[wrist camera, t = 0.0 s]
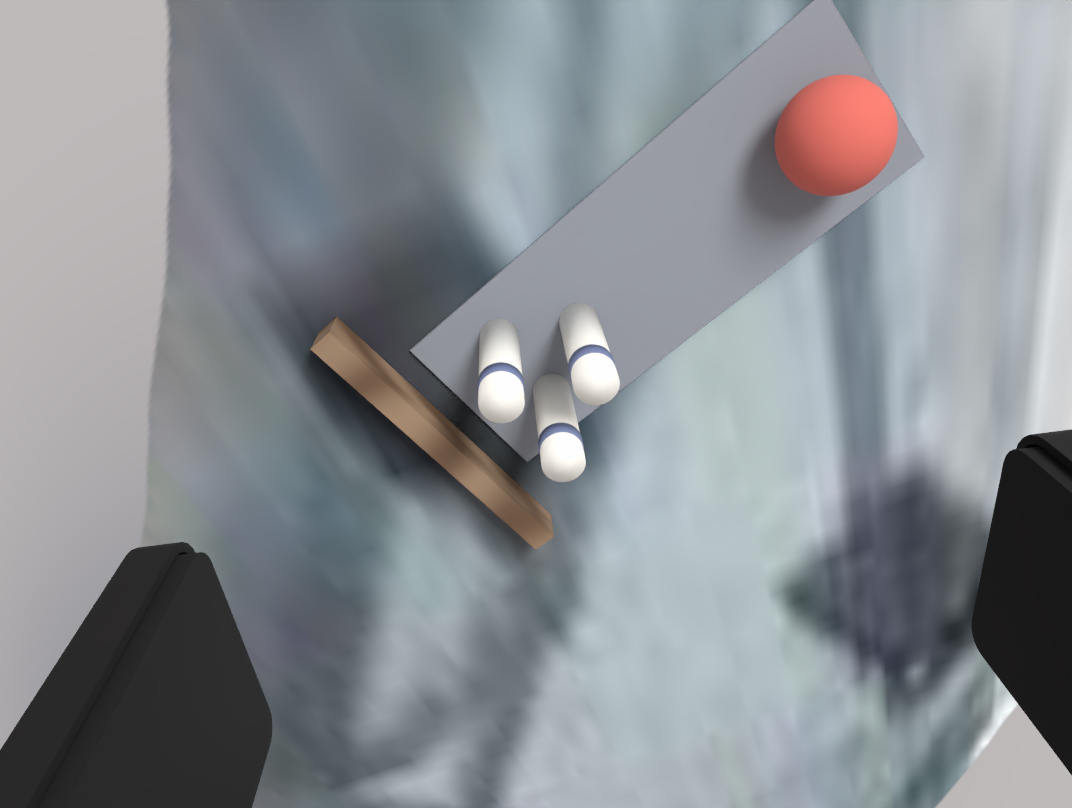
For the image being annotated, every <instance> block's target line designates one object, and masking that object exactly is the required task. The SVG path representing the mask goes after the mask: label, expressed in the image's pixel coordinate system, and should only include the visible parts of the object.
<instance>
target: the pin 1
mask: <svg viewBox="0 0 1072 808" xmlns="http://www.w3.org/2000/svg"><path fill="white" fill-rule="evenodd" d="M477 392H478V406H479V410H480V412H481V413H482V415H483V416H484V417H485V418H486V419H488V420H490V421H492V422H495V423H508V422H511V421H513V420H515V419H516V418H517V417H519V416H520V414H521V413H522V411H523V409H524V405H525V399H524V393H525V389H524V379H523V376H522V366H521V356H520V345H519V335H518V331H517V328H516V327H515V326H514V324H513V323H511V322H510V321H508V320H505V319H493V320H490V321H489V322H487V323H486V324H485V325H484V326H483V327H482V329H481V331H480V342H479V378H478V389H477Z"/></svg>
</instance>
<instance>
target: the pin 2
mask: <svg viewBox="0 0 1072 808" xmlns="http://www.w3.org/2000/svg"><path fill="white" fill-rule="evenodd" d="M533 397H534V405H535V414H536V423H537V431H538V448H539V455H540V458H541V466H542V470H543V472H544V474H545V475H546V476H547V477H548V478H550V479H551V480H554V481H557V482H568V481H571V480H574V479H576V478H577V477H578V476H580V475H581V473H582V472H583V470H584V468H585V465H586V460H585V455H584V446H583V441H582V437H581V434H580V431H579V427H578V422H577V417H576V413H575V408H574V403H573V398H572V394H571V389H570V385H569V383H568V381H567V380H566V379H565V378H564V377H563V376H561V375H559V374H553V373H551V374H546V375H543V376H541V377H540V378H539V379H538V380H537V381H536V382H535V384H534V387H533Z"/></svg>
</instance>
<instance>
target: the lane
mask: <svg viewBox="0 0 1072 808" xmlns="http://www.w3.org/2000/svg"><path fill="white" fill-rule="evenodd" d="M833 75H854V76H858V77H862V78H864V79H867V80H869V81H871V82H873V83H874V84H876V85H877V86H878V87H880V88H881V89H882V90H883V91H884V92H885V93H886V91H885V89H884V87H883V86H882V84H881V82H880V81H879V79H878V77H877V76H876V74H875V72H874V71H873V69H872V67H871V66H870V64H869V62H868V61H867V59H866V57H865V56H864V54H863V52H862V50H861V49H860V47H859V45H858V44H857V42H856V40H855V39H854V37H853V35H852V34H851V32H850V30H849V29H848V27H847V25H846V24H845V22H844V20H843V19H842V17H841V15H840V13H839V12H838V10H837V8H836V7H835V5H834V3H833V2H832V0H813V1H811V2H810V3H809V4H808V5H807V6H806V7H804V8H803V9H802V10H801V11H800V12H799V13H798V14H796V15H795V16H794V17H793V18H792V19H791V20H790V21H788V22H787V23H786V24H785V25H784V26H783V27H781V28H780V29H779V30H778V31H777V32H776V33H775V34H773V35H772V36H771V37H770V38H769V39H768V40H766V41H765V42H764V43H763V44H762V45H761V46H760V47H758V48H757V49H756V50H755V51H754V52H753V53H751V54H750V55H749V56H748V57H747V58H746V59H745V60H743V61H742V62H741V63H740V64H739V65H738V66H736V67H735V68H734V69H733V70H732V71H731V72H730V73H728V74H727V75H726V76H725V77H724V78H723V79H721V80H720V81H719V82H718V83H717V84H716V85H715V86H713V87H712V88H711V89H710V90H709V91H708V92H707V93H705V94H704V95H703V96H702V97H701V98H700V99H698V100H697V101H696V102H695V103H694V104H693V105H692V106H690V107H689V108H688V109H687V110H686V111H685V112H683V113H682V114H681V115H680V116H679V117H678V118H677V119H675V120H674V121H673V122H672V123H671V124H670V125H668V126H667V127H666V128H665V129H664V130H663V131H662V132H660V133H659V134H658V135H657V136H656V137H655V138H653V139H652V140H651V141H650V142H649V143H648V144H647V145H645V146H644V147H643V148H642V149H641V150H640V151H639V152H637V153H636V154H635V155H634V156H633V157H632V158H630V159H629V160H628V161H627V162H626V163H625V164H624V165H622V166H621V167H620V168H619V169H618V170H617V171H615V172H614V173H613V174H612V175H611V176H610V177H609V178H607V179H606V180H605V181H604V182H603V183H602V184H600V185H599V186H598V187H597V188H596V189H595V190H594V191H592V192H591V193H590V194H589V195H588V196H587V197H585V198H584V199H583V200H582V201H581V202H580V203H579V204H577V205H576V206H575V207H574V208H573V209H572V210H570V211H569V212H568V213H567V214H566V215H565V216H564V217H562V218H561V219H560V220H559V221H558V222H557V223H556V224H554V225H553V226H552V227H551V228H550V229H549V230H547V231H546V232H545V233H544V234H543V235H542V236H541V237H539V238H538V239H537V240H536V241H535V242H534V243H532V244H531V245H530V246H529V247H528V248H527V249H526V250H524V251H523V252H522V253H521V254H520V255H519V256H517V257H516V258H515V259H514V260H513V261H512V262H511V263H509V264H508V265H507V266H506V267H505V268H504V269H502V270H501V271H500V272H499V273H498V274H497V275H496V276H494V277H493V278H492V279H491V280H490V281H489V282H487V283H486V284H485V285H484V286H483V287H482V288H481V289H479V290H478V291H477V292H476V293H475V294H474V295H473V296H471V297H470V298H469V299H468V300H467V301H466V302H464V303H463V304H462V305H461V306H460V307H459V308H458V309H456V310H455V311H454V312H453V313H452V314H451V315H449V316H448V317H447V318H446V319H445V320H444V321H443V322H441V323H440V324H439V325H438V326H437V327H436V328H434V329H433V330H432V331H431V332H430V333H429V334H428V335H426V336H425V337H424V338H423V339H422V340H421V341H419V342H418V343H417V344H416V345H415V346H414V347H413V348H411V349H410V351H411V352H412V353H413V354H414V355H415V356H416V357H417V358H418V359H419V360H420V361H421V362H422V363H423V364H424V365H425V366H426V367H427V368H429V369H430V370H431V371H432V372H433V373H434V374H435V375H436V376H437V377H438V378H439V379H440V380H441V381H442V382H443V383H444V384H445V385H446V386H448V387H449V388H450V389H451V390H452V391H453V392H454V393H455V394H456V395H457V396H458V397H459V398H460V399H461V400H462V401H463V402H464V403H465V404H466V405H468V406H469V407H470V408H471V409H472V410H473V411H474V412H475V413H476V414H477V415H478V416H479V417H480V418H481V419H482V420H483V421H484V422H485V423H486V424H488V425H489V426H490V427H491V428H492V429H493V430H494V431H495V432H496V433H497V434H498V435H499V436H500V437H501V438H502V439H503V440H504V441H505V442H507V443H508V444H509V445H510V446H511V447H512V448H513V449H514V450H515V451H516V452H517V453H518V454H519V455H520V456H521V457H522V458H523V459H524V460H525V461H527V462H528V461H529V460H531V459H532V458H533V457H535V456H536V455H537V454H538V453H539V448H538V431H537V423H536V414H535V405H534V397H533V387H534V384H535V382H536V381H537V380H538V379H539V378H540V377H541V376H543V375H546V374H551V373H553V374H559V375H561V376H563V377H564V378H565V379H566V380H567V381H568V383H569V385H570V389H571V394H572V398H573V403H574V408H575V413H576V417H577V422H578V423H579V422H580V421H581V420H583V419H584V418H585V417H586V416H588V415H589V414H590V413H592V412H593V411H594V410H596V409H597V408H598V407H599V406H601V405H602V404H601V405H589V404H586V403H584V402H582V401H581V400H579V399H578V397H577V396H576V395H575V392H574V389H573V385H572V382H571V380H570V375H569V371H568V362H567V357H566V353H565V348H564V344H563V339H562V335H561V330H560V325H559V318H560V315H561V313H562V311H563V310H564V309H565V308H566V307H567V306H569V305H571V304H574V303H585V304H588V305H590V306H591V307H592V308H593V309H594V310H595V311H596V313H597V316H598V318H599V321H600V324H601V327H602V330H603V333H604V336H605V339H606V342H607V344H608V347H609V350H610V353H611V354H612V356H613V359H614V362H615V365H616V368H617V373H618V376H619V380H620V386H619V390H618V392H619V391H620V390H622V389H623V388H624V387H625V386H627V385H628V384H629V383H631V382H632V381H633V380H635V379H636V378H637V377H638V376H640V375H641V374H642V373H644V372H645V371H646V370H648V369H649V368H650V367H651V366H653V365H654V364H655V363H657V362H658V361H659V360H661V359H662V358H663V357H664V356H666V355H667V354H668V353H670V352H671V351H672V350H674V349H675V348H676V347H677V346H679V345H680V344H681V343H683V342H684V341H685V340H687V339H688V338H689V337H690V336H692V335H693V334H694V333H696V332H697V331H698V330H700V329H701V328H702V327H703V326H705V325H706V324H707V323H709V322H710V321H711V320H713V319H714V318H715V317H716V316H718V315H719V314H720V313H722V312H723V311H724V310H726V309H727V308H728V307H729V306H731V305H732V304H733V303H735V302H736V301H737V300H739V299H740V298H741V297H742V296H744V295H745V294H746V293H748V292H749V291H750V290H752V289H753V288H754V287H755V286H757V285H758V284H759V283H761V282H762V281H763V280H765V279H766V278H767V277H768V276H770V275H771V274H772V273H774V272H775V271H776V270H778V269H779V268H780V267H781V266H783V265H784V264H785V263H787V262H788V261H789V260H791V259H792V258H793V257H794V256H796V255H797V254H798V253H800V252H801V251H802V250H803V249H805V248H806V247H807V246H809V245H810V244H811V243H813V242H814V241H815V240H816V239H818V238H819V237H820V236H822V235H823V234H824V233H826V232H827V231H828V230H829V229H831V228H832V227H833V226H835V225H836V224H837V223H839V222H840V221H841V220H842V219H844V218H845V217H846V216H848V215H849V214H850V213H852V212H853V211H854V210H855V209H857V208H858V207H859V206H861V205H862V204H863V203H865V202H866V201H867V200H868V199H870V198H871V197H872V196H874V195H875V194H876V193H878V192H879V191H880V190H881V189H883V188H884V187H885V186H887V185H888V184H889V183H891V182H892V181H893V180H894V179H896V178H897V177H898V176H900V175H901V174H902V173H904V172H905V171H906V170H907V169H909V168H910V167H911V166H913V165H914V164H915V163H917V162H918V161H919V160H920V159H922V158H923V157H924V155H923V153H922V151H921V150H920V148H919V146H918V145H917V143H916V141H915V140H914V138H913V136H912V135H911V133H910V131H909V130H908V128H907V126H906V125H905V123H904V121H903V119H902V118H901V116H900V114H899V113H898V111H897V109H896V108H895V106H894V104H893V103H892V105H893V107H894V109H895V112H896V115H897V121H898V133H897V141H896V145H895V148H894V151H893V154H892V156H891V158H890V160H889V161H888V163H887V165H886V166H885V167H884V169H883V170H882V171H881V172H880V173H879V174H878V175H877V176H876V177H875V178H874V179H873V180H872V181H871V182H869V183H868V184H866V185H865V186H863V187H862V188H860V189H858V190H856V191H853V192H851V193H847V194H843V195H838V196H820V195H815V194H811V193H808V192H806V191H804V190H802V189H800V188H799V187H797V186H796V185H794V184H793V183H792V182H791V181H790V180H789V179H788V178H787V177H786V176H785V174H784V173H783V171H782V169H781V168H780V165H779V163H778V160H777V157H776V153H775V133H776V128H777V124H778V121H779V119H780V116H781V114H782V112H783V110H784V109H785V107H786V106H787V104H788V103H789V102H790V100H791V99H792V98H793V97H794V96H795V95H796V94H797V93H798V92H799V91H800V90H802V89H803V88H804V87H806V86H807V85H809V84H811V83H812V82H814V81H817V80H819V79H822V78H825V77H828V76H833ZM886 95H887V96H888V94H887V93H886ZM888 97H889V96H888ZM889 99H890V98H889ZM890 100H891V99H890ZM891 102H892V101H891ZM493 319H505V320H508V321H510V322H511V323H513V324H514V326H515V327H516V328H517V331H518V335H519V345H520V356H521V366H522V376H523V379H524V389H525V393H524V399H525V405H524V409H523V411H522V413H521V414H520V416H519V417H517V418H516V419H515V420H513V421H511V422H508V423H495V422H492V421H490V420H488V419H486V418H485V417H484V416H483V415H482V413H481V412H480V410H479V406H478V392H477V389H478V378H479V342H480V331H481V329H482V327H483V326H484V325H485V324H486V323H487V322H489V321H490V320H493ZM618 392H617V393H618Z"/></svg>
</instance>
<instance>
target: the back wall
mask: <svg viewBox="0 0 1072 808" xmlns="http://www.w3.org/2000/svg"><path fill="white" fill-rule="evenodd" d="M311 350H312V351H313V352H314V353H315V354H316V355H317V356H318V357H320V358H321V359H322V360H323V361H324V362H325V363H326V364H327V365H329V366H330V367H331V368H332V369H333V370H334V371H335V372H336V373H338V374H339V375H340V376H341V377H342V378H343V379H344V380H345V381H347V382H348V383H349V384H350V385H351V386H352V387H353V388H354V389H356V390H357V391H358V392H359V393H360V394H361V395H362V396H363V397H365V398H366V399H367V400H368V401H369V402H370V403H371V404H372V405H374V406H375V407H376V408H377V409H378V410H379V411H380V412H382V413H383V414H384V415H385V416H386V417H387V418H388V419H389V420H391V421H392V422H393V423H394V424H395V425H396V426H397V427H398V428H400V429H401V430H402V431H403V432H404V433H405V434H406V435H407V436H409V437H410V438H411V439H412V440H413V441H414V442H415V443H416V444H418V445H419V446H420V447H421V448H422V449H423V450H424V451H425V452H427V453H428V454H429V455H430V456H431V457H432V458H433V459H434V460H436V461H437V462H438V463H439V464H440V465H441V466H442V467H443V468H445V469H446V470H447V471H448V472H449V473H450V474H451V475H452V476H454V477H455V478H456V479H457V480H458V481H459V482H460V483H461V484H463V485H464V486H465V487H466V488H467V489H468V490H469V491H470V492H472V493H473V494H474V495H475V496H476V497H477V498H478V499H479V500H481V501H482V502H483V503H484V504H485V505H486V506H487V507H488V508H490V509H491V510H492V511H493V512H494V513H495V514H496V515H497V516H499V517H500V518H501V519H502V520H503V521H504V522H505V523H506V524H508V525H509V526H510V527H511V528H512V529H513V530H514V531H515V532H517V533H518V534H519V535H520V536H521V537H522V538H523V539H524V540H526V541H527V542H528V543H529V544H530V545H531V546H532V547H533V548H535V549H537V548H539V547H540V546H541V545H543V544H544V543H546V542H547V541H548V540H550V539H551V538H552V537H554V535H553V527H552V519H551V514H550V513H549V512H548V511H547V510H545V509H544V508H543V507H542V506H541V505H540V504H539V503H538V502H537V501H536V500H535V499H534V498H532V497H531V496H530V495H529V494H528V493H527V492H526V491H525V490H524V489H523V488H522V487H521V486H520V485H518V484H517V483H516V482H515V481H514V480H513V479H512V478H511V477H510V476H509V475H508V474H507V473H505V472H504V471H503V470H502V469H501V468H500V467H499V466H498V465H497V464H496V463H495V462H494V461H493V460H491V459H490V458H489V457H488V456H487V455H486V454H485V453H484V452H483V451H482V450H481V449H480V448H478V447H477V446H476V445H475V444H474V443H473V442H472V441H471V440H470V439H469V438H468V437H467V436H466V435H464V434H463V433H462V432H461V431H460V430H459V429H458V428H457V427H456V426H455V425H454V424H453V423H452V422H450V421H449V420H448V419H447V418H446V417H445V416H444V415H443V414H442V413H441V412H440V411H439V410H437V409H436V408H435V407H434V406H433V405H432V404H431V403H430V402H429V401H428V400H427V399H426V398H425V397H423V396H422V395H421V394H420V393H419V392H418V391H417V390H416V389H415V388H414V387H413V386H412V385H410V384H409V383H408V382H407V381H406V380H405V379H404V378H403V377H402V376H401V375H400V374H399V373H398V372H396V371H395V370H394V369H393V368H392V367H391V366H390V365H389V364H388V363H387V362H386V361H385V360H383V359H382V358H381V357H380V356H379V355H378V354H377V353H376V352H375V351H374V350H373V349H372V348H371V347H369V346H368V345H367V344H366V343H365V342H364V341H363V340H362V339H361V338H360V337H359V336H358V335H356V334H355V333H354V332H353V331H352V330H351V329H350V328H349V327H348V326H347V325H346V324H345V323H344V322H342V321H341V320H340V319H339V318H338V317H337V316H336V317H335V318H334V319H333V320H332V321H331V322H330V323H329V324H328V325H327V326H325V327H324V328H323V329H322V330H321V331H320V332H319V333H318V335H317V337H316V339H315V341H314V343H313V345H312V347H311Z"/></svg>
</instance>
